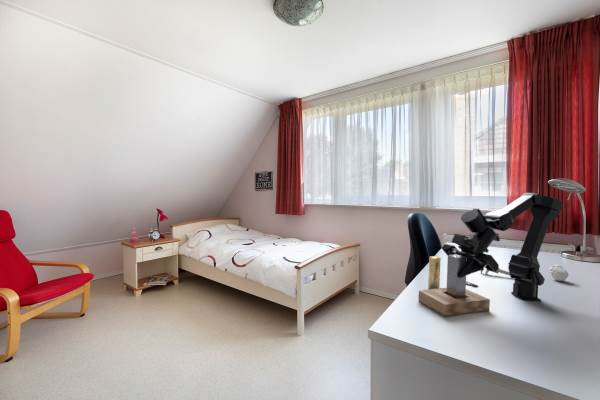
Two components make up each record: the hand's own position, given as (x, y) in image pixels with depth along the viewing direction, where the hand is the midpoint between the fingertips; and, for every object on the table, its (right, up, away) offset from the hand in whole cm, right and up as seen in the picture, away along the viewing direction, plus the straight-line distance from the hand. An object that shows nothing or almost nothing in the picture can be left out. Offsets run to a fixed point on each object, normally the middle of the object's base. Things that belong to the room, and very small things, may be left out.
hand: (453, 274), depth 92 cm
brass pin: (+1, -10, +16) cm, 19 cm away
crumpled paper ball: (+64, -11, +29) cm, 71 cm away
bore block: (+1, -11, +1) cm, 11 cm away
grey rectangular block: (+1, -7, +1) cm, 7 cm away
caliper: (+43, -11, +32) cm, 55 cm away
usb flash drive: (+18, -11, +23) cm, 31 cm away
